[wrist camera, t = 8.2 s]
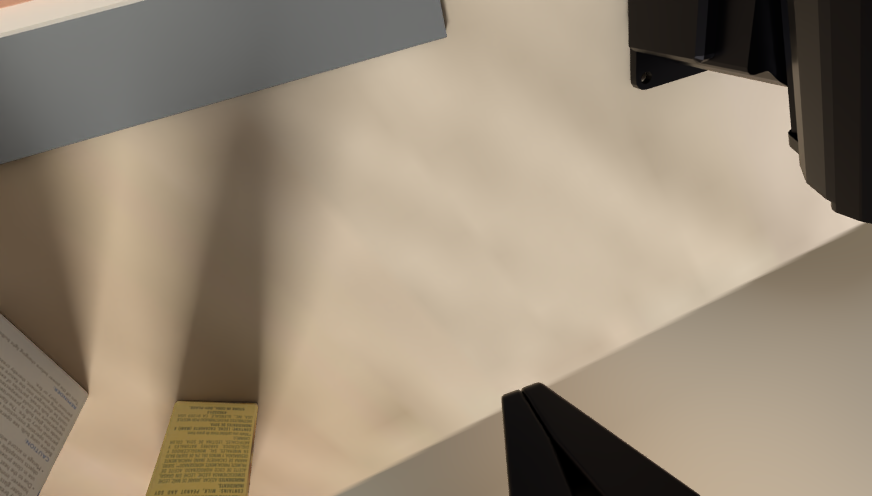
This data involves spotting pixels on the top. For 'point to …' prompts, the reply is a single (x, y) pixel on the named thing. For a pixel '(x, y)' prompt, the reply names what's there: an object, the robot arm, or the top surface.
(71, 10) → the ivory tile
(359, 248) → the top surface
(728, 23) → the robot arm
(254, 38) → the rubber mat
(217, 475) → the candy box
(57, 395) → the light bulb box
